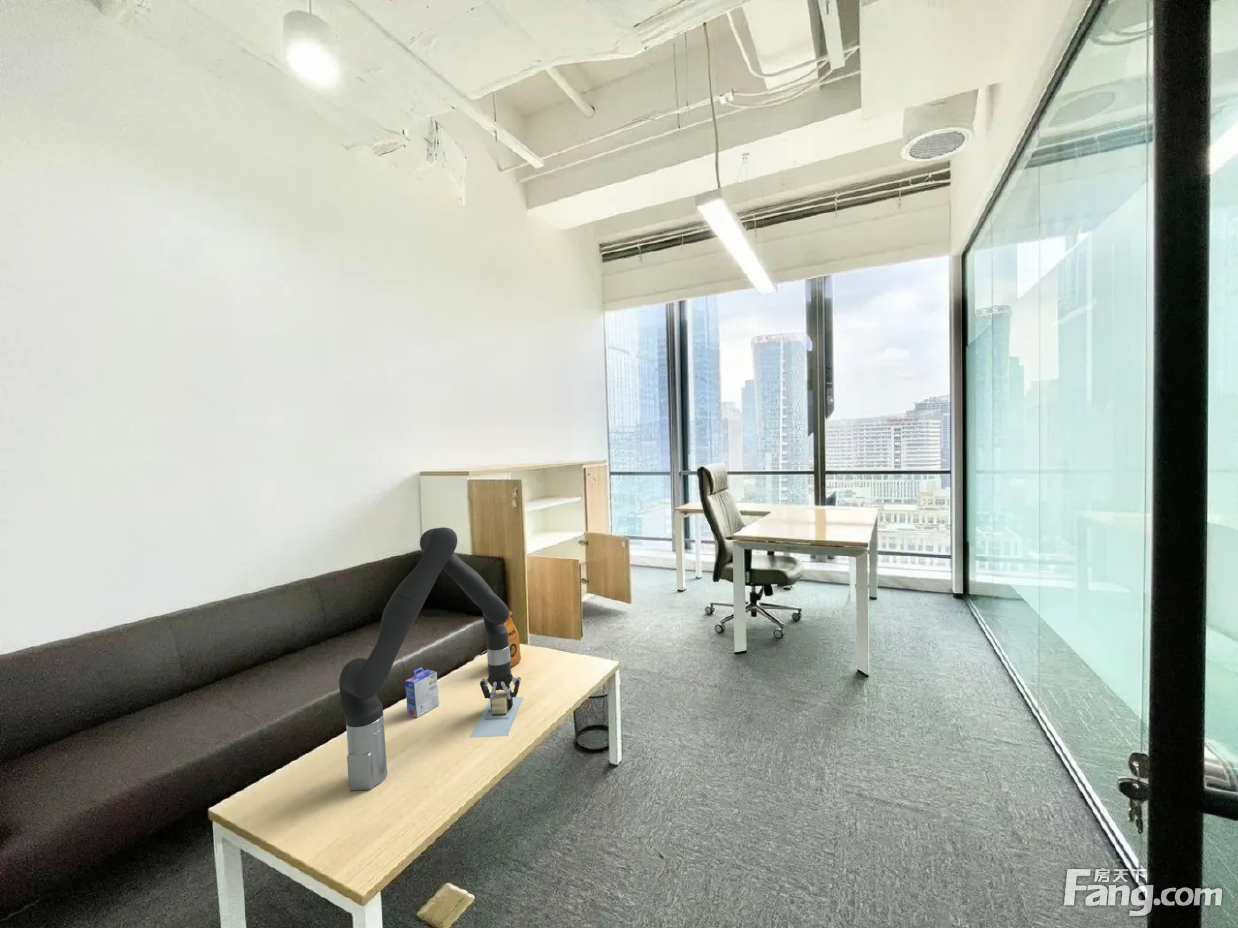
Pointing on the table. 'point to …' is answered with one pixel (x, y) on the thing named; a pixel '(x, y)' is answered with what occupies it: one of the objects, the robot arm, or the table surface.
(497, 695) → the block
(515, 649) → the coffee package
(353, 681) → the robot arm
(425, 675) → the ink cartridge box
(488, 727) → the board
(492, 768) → the table surface
